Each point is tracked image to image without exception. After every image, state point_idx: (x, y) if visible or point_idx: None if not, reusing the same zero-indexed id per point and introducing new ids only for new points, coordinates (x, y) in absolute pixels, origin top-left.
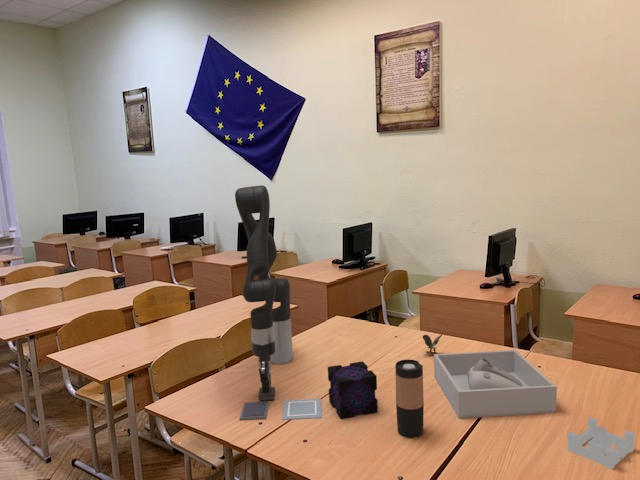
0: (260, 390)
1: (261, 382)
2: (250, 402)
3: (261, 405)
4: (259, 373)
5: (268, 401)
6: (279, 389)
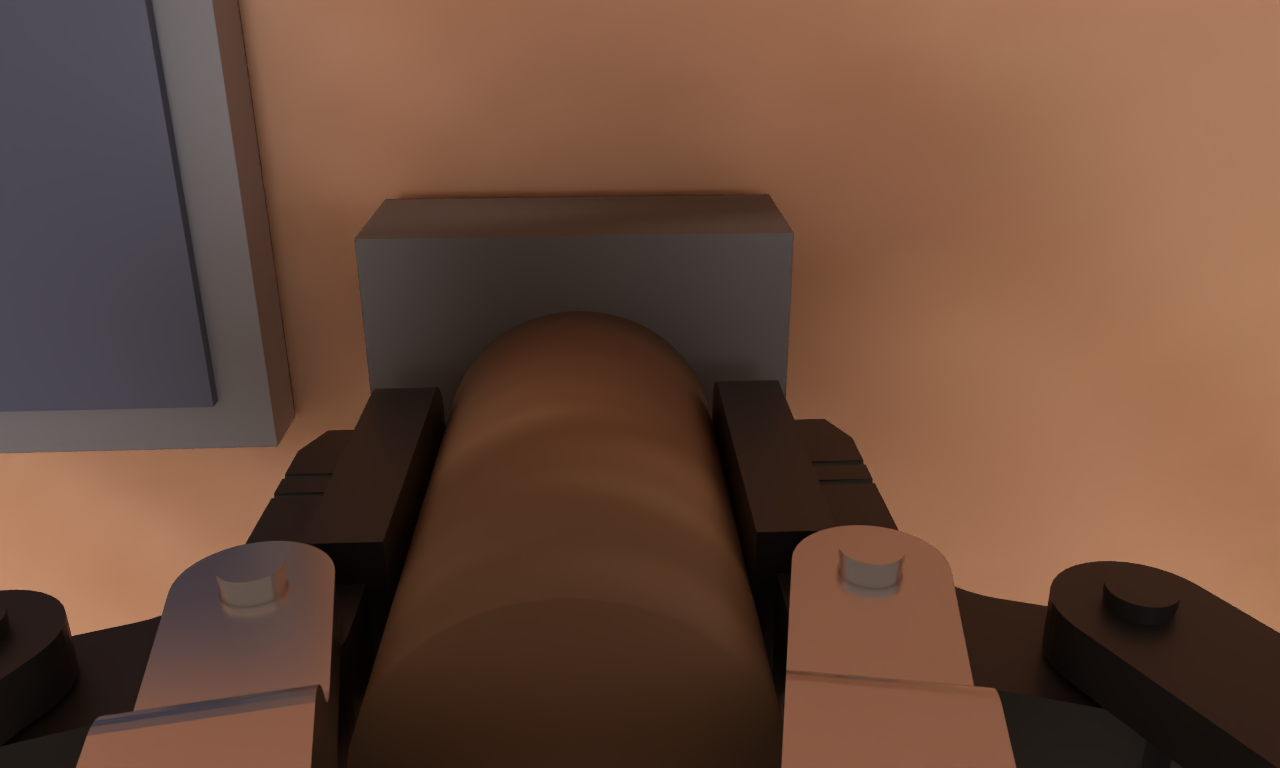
0: (599, 266)
1: (511, 435)
2: (148, 3)
3: (3, 319)
4: (97, 728)
5: (257, 445)
6: (958, 563)
